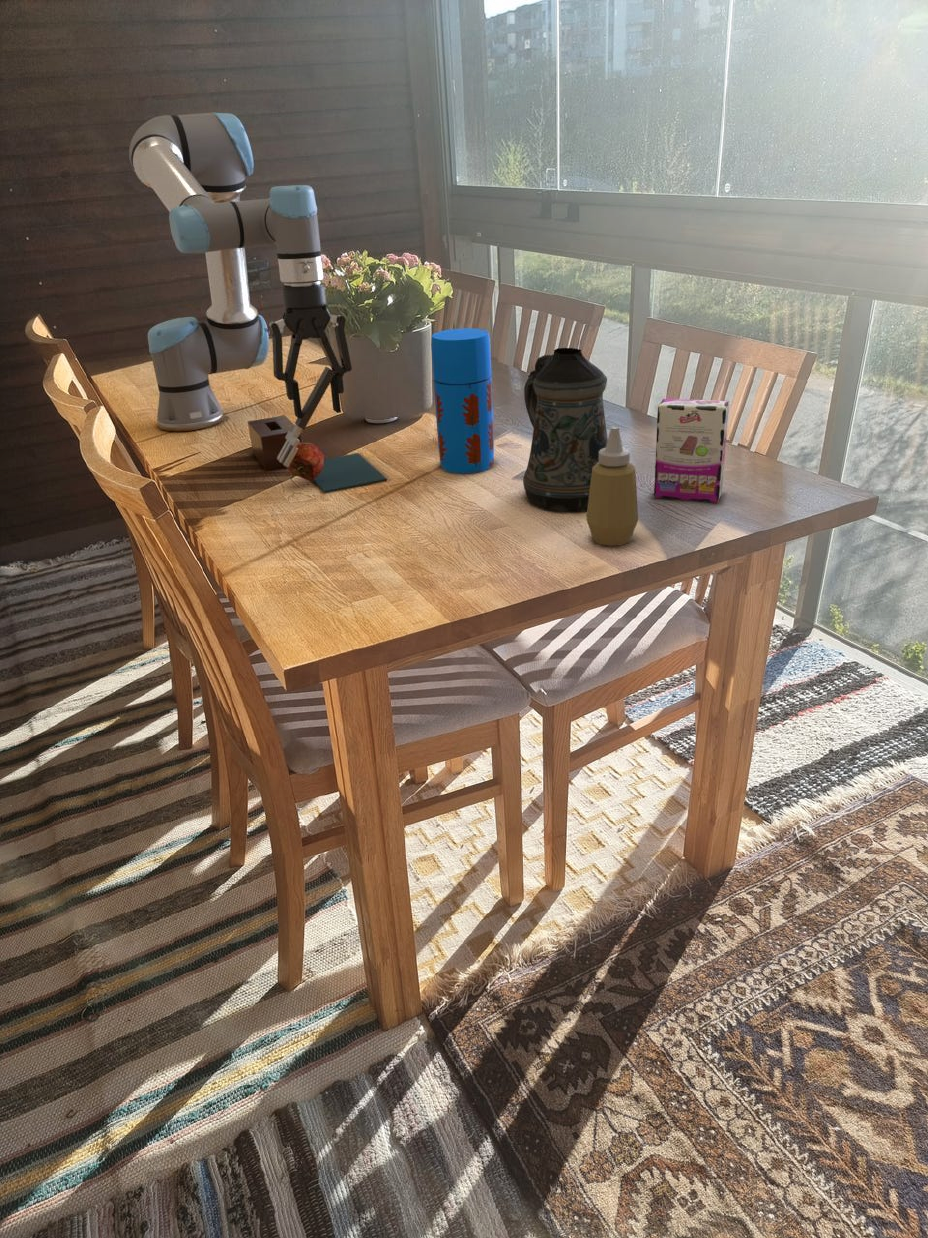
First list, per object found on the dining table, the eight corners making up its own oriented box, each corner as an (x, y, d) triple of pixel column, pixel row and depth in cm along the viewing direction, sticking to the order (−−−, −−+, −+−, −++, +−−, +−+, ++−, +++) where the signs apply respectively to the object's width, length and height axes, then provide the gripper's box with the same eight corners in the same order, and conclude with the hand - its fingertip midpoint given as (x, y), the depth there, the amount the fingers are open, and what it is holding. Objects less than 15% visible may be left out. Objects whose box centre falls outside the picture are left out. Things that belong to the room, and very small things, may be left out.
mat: (300, 465, 179) (299, 463, 179) (358, 454, 183) (358, 452, 183) (324, 492, 164) (324, 490, 164) (386, 480, 168) (386, 478, 168)
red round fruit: (309, 497, 166) (337, 466, 172) (302, 468, 161) (332, 436, 166) (277, 486, 169) (305, 456, 174) (269, 456, 163) (299, 426, 169)
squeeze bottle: (581, 531, 142) (582, 421, 134) (630, 527, 143) (635, 417, 134) (591, 551, 135) (593, 437, 127) (643, 547, 136) (649, 433, 127)
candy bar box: (722, 493, 153) (731, 399, 145) (718, 503, 149) (727, 408, 141) (657, 488, 157) (662, 396, 149) (652, 498, 153) (657, 404, 145)
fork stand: (253, 453, 188) (247, 421, 184) (289, 447, 190) (284, 415, 187) (266, 470, 177) (260, 437, 174) (305, 463, 180) (300, 430, 176)
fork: (273, 455, 168) (323, 364, 164) (280, 459, 169) (330, 368, 165) (280, 464, 163) (332, 370, 160) (288, 467, 164) (339, 374, 161)
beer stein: (592, 519, 146) (595, 367, 134) (492, 501, 156) (486, 358, 144) (631, 487, 158) (637, 344, 146) (536, 472, 168) (534, 337, 156)
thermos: (501, 457, 177) (497, 328, 164) (484, 475, 168) (478, 340, 156) (450, 454, 180) (442, 327, 168) (431, 471, 171) (421, 339, 159)
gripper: (250, 290, 148) (270, 425, 159) (362, 280, 155) (374, 410, 165) (242, 286, 154) (261, 416, 165) (350, 276, 161) (362, 402, 171)
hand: (318, 413), depth 165 cm, fingers closed on fork, 7 cm apart
